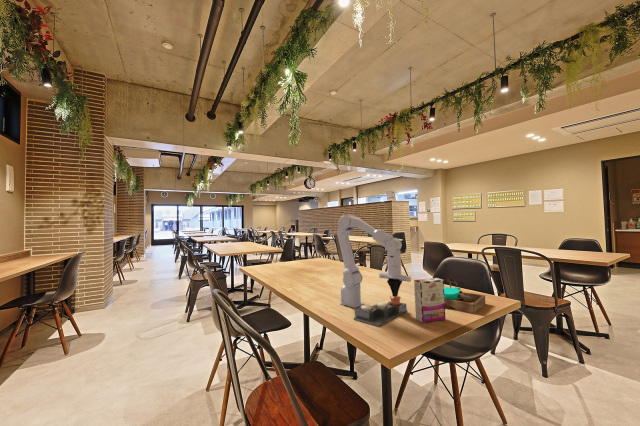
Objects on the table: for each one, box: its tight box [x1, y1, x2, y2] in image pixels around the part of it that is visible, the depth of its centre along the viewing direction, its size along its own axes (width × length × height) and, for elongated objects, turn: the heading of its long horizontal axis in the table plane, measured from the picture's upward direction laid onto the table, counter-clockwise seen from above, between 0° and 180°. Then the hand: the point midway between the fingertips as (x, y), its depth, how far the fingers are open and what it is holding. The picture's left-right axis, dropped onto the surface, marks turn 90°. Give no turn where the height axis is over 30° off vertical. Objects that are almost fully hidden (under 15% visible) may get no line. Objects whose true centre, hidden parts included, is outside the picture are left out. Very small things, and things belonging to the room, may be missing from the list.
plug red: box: [389, 295, 401, 306], centre depth 121 cm, size 5×5×4 cm
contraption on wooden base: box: [444, 278, 472, 310], centre depth 131 cm, size 14×18×15 cm
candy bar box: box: [413, 277, 446, 324], centre depth 112 cm, size 11×5×16 cm, turn 105°
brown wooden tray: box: [444, 291, 486, 314], centre depth 131 cm, size 22×18×4 cm
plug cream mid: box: [375, 301, 387, 309], centre depth 118 cm, size 5×5×4 cm
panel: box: [353, 301, 408, 328], centre depth 118 cm, size 13×24×4 cm, turn 137°
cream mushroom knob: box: [360, 304, 373, 312], centre depth 115 cm, size 5×5×4 cm
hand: (395, 295), depth 121 cm, fingers closed
